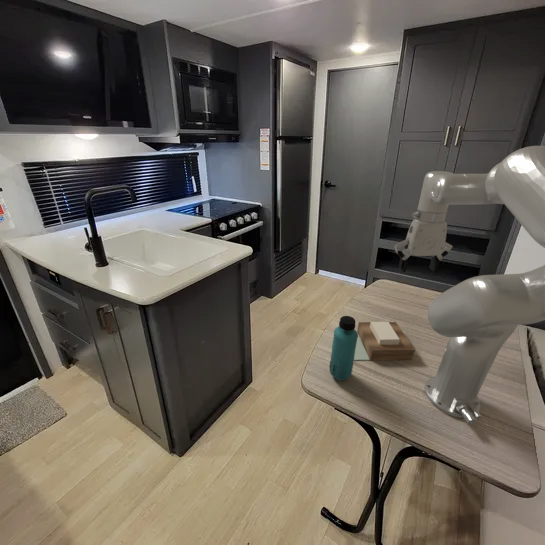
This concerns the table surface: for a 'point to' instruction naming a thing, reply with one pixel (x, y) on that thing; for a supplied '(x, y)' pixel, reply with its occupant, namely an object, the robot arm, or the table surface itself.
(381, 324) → the cream rectangular block
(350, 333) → the beverage bottle
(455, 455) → the table surface
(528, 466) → the table surface
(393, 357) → the flat brown wooden block
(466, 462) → the table surface
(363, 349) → the mat
